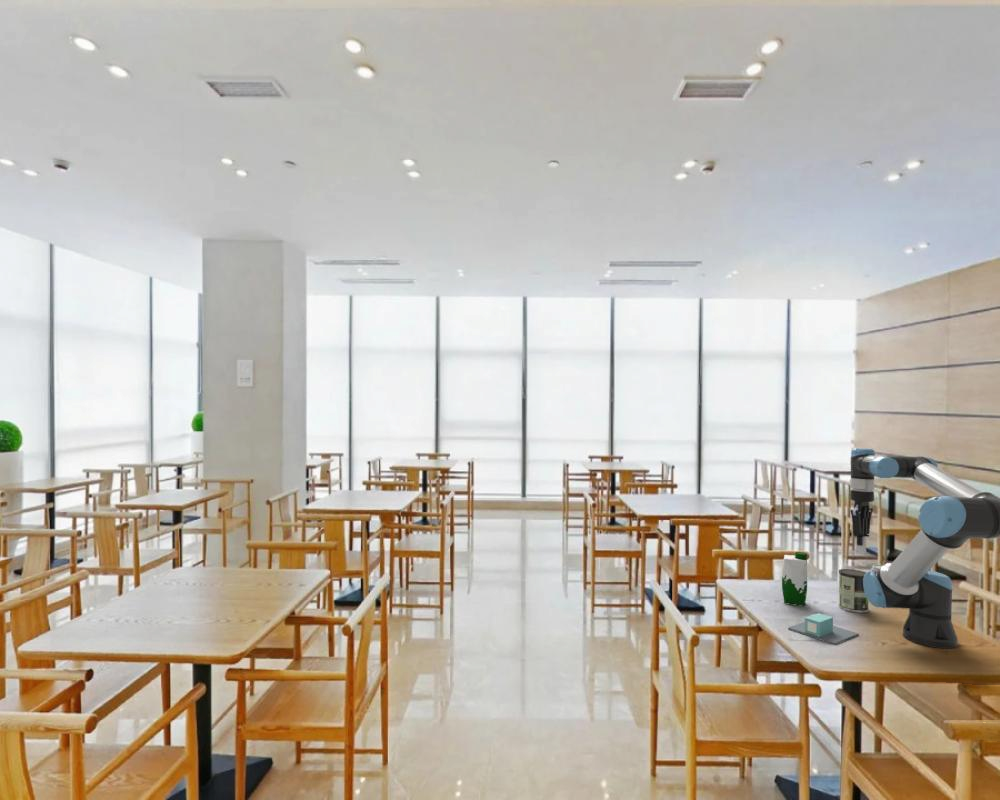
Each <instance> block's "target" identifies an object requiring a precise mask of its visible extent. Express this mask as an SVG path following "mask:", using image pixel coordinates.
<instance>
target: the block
mask: <svg viewBox="0 0 1000 800" xmlns="http://www.w3.org/2000/svg"><path fill="white" fill-rule="evenodd" d="M804 622H805V633H808V634H811V635H815V636H818V637H821V636H824V635H826V634H829V633H831V632H833V626H834V617H833V616H829V615H828V614H823V613H821V612H820V613H819V612H818V613H816V614H812V615H808V616H806V617H804Z"/></svg>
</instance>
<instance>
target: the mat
mask: <svg viewBox="0 0 1000 800" xmlns="http://www.w3.org/2000/svg"><path fill="white" fill-rule="evenodd" d="M789 629H790V631H792V630H793V631H792V632H796V633H799V634H801V635H805V636H806V637H807V636H808V637H811V638H813V637H814V638H813V639H816V638H817V640H819V639H821V640H820V641H823V640H824V641H823V642H825V643H830V644H832V645H835V644H836V645H838V644H841V643H842V641H843V642H845V641H844V640H846V641H848V640H850V639H853V638H855V637H857V635H858V636H859V632H857V631H856V632H855V631H852V630H849V629H847V628H846V629H845V628H842V627H838V626H836V625H833V632H831V633H829V634H826V635H824V636H821V637H818V636H815V635H811V634H808V633H805V621H803V622H800V623H796V624H795V625H792V626H791V625H790V626H788V627H787V630H789ZM852 637H853V638H852ZM849 638H850V639H849ZM847 639H848V640H847ZM840 642H841V643H840Z"/></svg>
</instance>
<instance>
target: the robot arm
mask: <svg viewBox="0 0 1000 800" xmlns="http://www.w3.org/2000/svg"><path fill="white" fill-rule="evenodd" d="M875 477H876V478H879V479H892V478H900V479H901V478H902V479H913V480H914V481H916V482H917V483H919V484H921V485H923V486H924V487H925V488H927V489H929V490H930V491H932V492H933V493H935V494H936V495H938V496H933V497H930V498H928V499H927V500H925V501H924V502H923V503H922V504H921V505H920V508H919V510H918V511H919V513H920V514H918V524H919V527H920V530H919V531H918V533H917V534H916V535H915V536H914V538H913V539H912V540H911V541H910V542H909V543H908V544H907V545H906V547H905V548H904V549H902V551H901V552H900V553H899V555H898V556H897V557H896V558H895V559H894V560H893V562H888V563H884V564H882V565H883V566H882V567H881V568H880V569H879V571H877V572H873V571H872V570H871V571H867V572H866V573H865V575H864V578H863V587H864V592H865V595H866V597H867V599H868V603H870V604H871V606H874V607H875V608H883V609H908V610H909V611H908V615H907V618H906V620H905V622H904V625H903V627H902V636H903V637H904V638H906V639H907V640H909V641H911V640H912V641H911V642H913V641H914V642H913V643H917V644H919V643H920V645H923V646H927V647H933V648H940V649H954V648H957V647H958V645H959V643H958V642H959V640H958V636H957V633H956V629H955V627H954V625H953V622H952V613H953V612H952V609H953V607H952V603H953V601H952V600H953V593H952V591H953V590H954V589H953V583H952V579H951V578H950V576H948V575H946V574H944V573H940V572H939V571H938V572H937V571H935V570H931V569H933V568H934V566H935V565H936V564H937V562H939V561H940V560H941V559H942V558H943V556H945V555H946V553H948V552H949V550H955V549H959V548H961V547H962V546H964V544H965V543H966V542H967V541H968V540H970V539H997V538H1000V497H999V496H997V495H995V494H993V493H992V492H987V491H980V490H979V489H977V488H975V487H973V486H972V485H970V484H968V483H966V482H964V481H963V480H961V479H959V478H957V477H955V476H954V475H951V473H948V472H947V471H946V470H943V469H941V468H939V466H938V463H937V462H936V461H935V460H934V459H933V457H926V456H901V455H899V456H898V455H897V456H896V455H895V456H894V455H889V456H888V455H876V454H875V450H874V449H873V448H865V447H864V448H863V447H862V448H861V447H854V448H852V449H851V453H850V479H849V483H850V489H851V490H850V491H849V492H850V493H849V494H850V495H849V497H850V500H851V501H854V505H853V509H850V515H851V521H852V524H851V525H852V533H853V536H855V537H856V539H855V540H856V542H855V543H856V547H855V549H856V552H855V553H856V555H857V554H858V555H862V556H866V555H867V537H868V538H869V537H870V531H871V522H872V513H873V511H874V509H873V508H874V507H871V506H870V503H872V502H874V501H875V492H874V490H875Z"/></svg>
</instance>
